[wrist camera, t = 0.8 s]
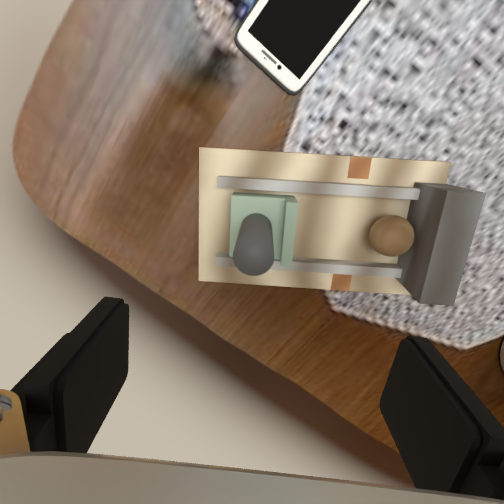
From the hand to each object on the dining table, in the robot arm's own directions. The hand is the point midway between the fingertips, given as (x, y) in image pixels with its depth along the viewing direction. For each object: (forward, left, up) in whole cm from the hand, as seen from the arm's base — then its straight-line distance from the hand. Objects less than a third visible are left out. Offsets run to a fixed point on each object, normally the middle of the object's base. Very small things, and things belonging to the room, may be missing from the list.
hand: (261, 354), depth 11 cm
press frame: (-5, +1, -25) cm, 25 cm away
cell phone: (-3, -19, -25) cm, 32 cm away
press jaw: (0, +1, -23) cm, 23 cm away
